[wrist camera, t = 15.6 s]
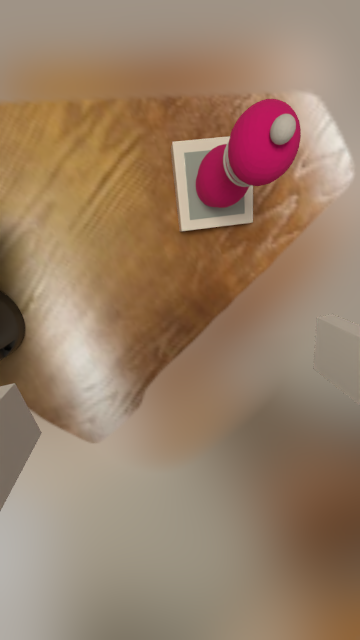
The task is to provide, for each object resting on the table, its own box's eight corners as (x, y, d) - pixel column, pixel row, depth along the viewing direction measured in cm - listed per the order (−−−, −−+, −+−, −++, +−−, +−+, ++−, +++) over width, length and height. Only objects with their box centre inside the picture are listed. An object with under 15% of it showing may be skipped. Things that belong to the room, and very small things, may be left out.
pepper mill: (196, 152, 33) (254, 42, 14) (242, 162, 34) (352, 71, 15) (188, 206, 35) (230, 173, 17) (232, 214, 36) (318, 190, 18)
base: (179, 231, 39) (181, 231, 36) (170, 149, 35) (172, 141, 32) (245, 223, 40) (253, 222, 37) (245, 142, 36) (253, 133, 33)
